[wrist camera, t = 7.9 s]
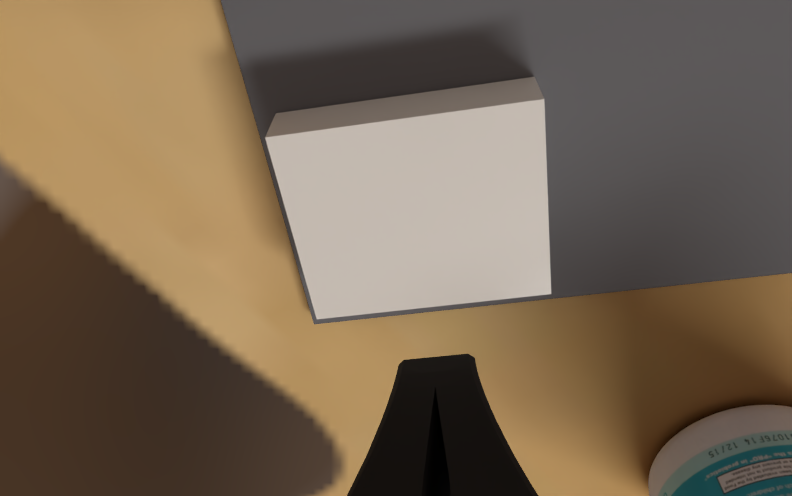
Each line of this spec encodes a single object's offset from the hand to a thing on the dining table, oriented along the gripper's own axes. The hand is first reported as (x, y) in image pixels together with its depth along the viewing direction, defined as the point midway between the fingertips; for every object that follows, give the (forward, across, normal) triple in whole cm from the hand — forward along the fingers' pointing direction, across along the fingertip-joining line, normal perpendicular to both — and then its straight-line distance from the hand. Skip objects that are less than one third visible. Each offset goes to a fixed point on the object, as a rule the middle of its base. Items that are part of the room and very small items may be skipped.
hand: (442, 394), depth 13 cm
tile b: (+7, -3, 0) cm, 8 cm away
